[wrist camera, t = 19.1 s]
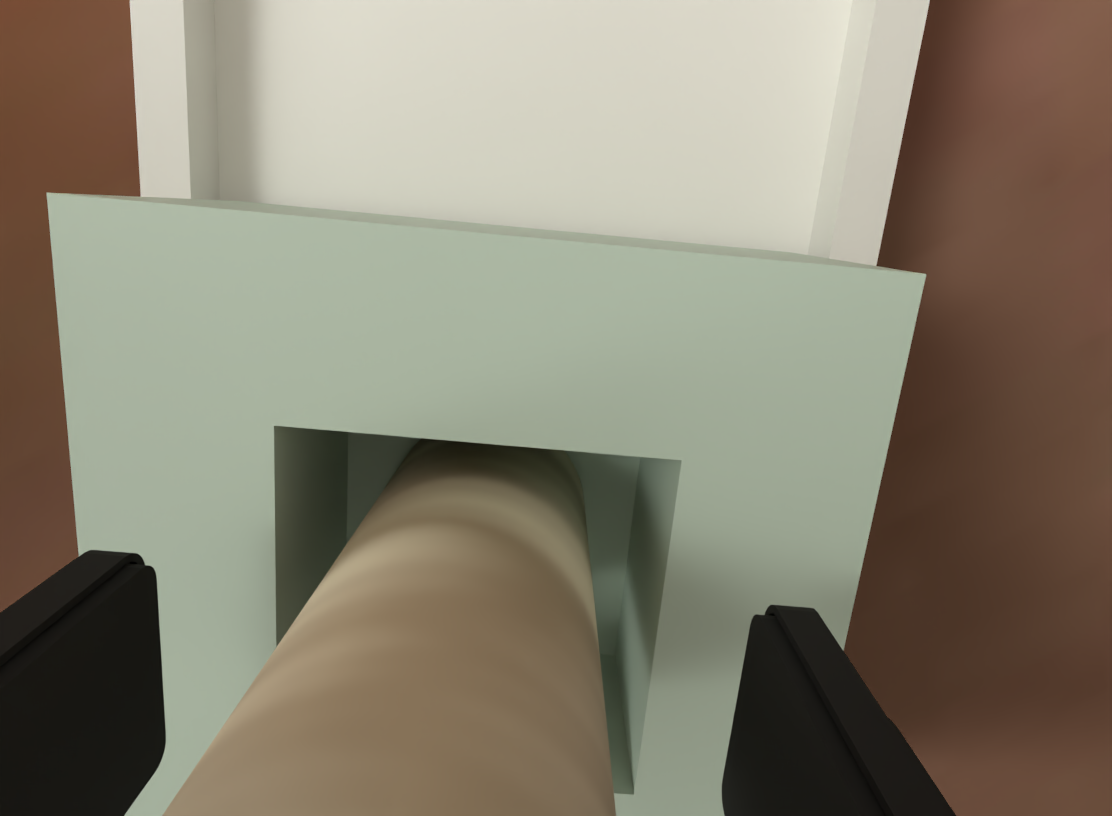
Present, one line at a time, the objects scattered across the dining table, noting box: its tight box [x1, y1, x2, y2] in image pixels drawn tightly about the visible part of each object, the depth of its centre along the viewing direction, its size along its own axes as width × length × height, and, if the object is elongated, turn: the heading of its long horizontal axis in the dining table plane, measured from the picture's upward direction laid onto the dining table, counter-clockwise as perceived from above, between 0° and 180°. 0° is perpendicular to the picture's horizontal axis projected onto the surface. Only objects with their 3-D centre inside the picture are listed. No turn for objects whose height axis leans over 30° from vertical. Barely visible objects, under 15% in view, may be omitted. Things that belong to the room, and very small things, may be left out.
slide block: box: [47, 193, 926, 816], centre depth 14 cm, size 12×12×6 cm
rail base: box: [130, 0, 930, 266], centre depth 12 cm, size 15×28×10 cm, turn 175°
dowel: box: [162, 438, 616, 816], centre depth 9 cm, size 4×4×12 cm
